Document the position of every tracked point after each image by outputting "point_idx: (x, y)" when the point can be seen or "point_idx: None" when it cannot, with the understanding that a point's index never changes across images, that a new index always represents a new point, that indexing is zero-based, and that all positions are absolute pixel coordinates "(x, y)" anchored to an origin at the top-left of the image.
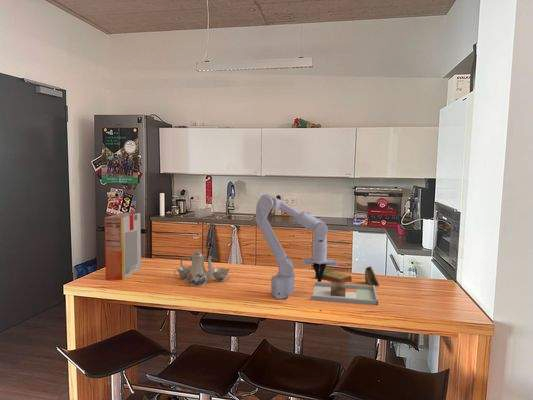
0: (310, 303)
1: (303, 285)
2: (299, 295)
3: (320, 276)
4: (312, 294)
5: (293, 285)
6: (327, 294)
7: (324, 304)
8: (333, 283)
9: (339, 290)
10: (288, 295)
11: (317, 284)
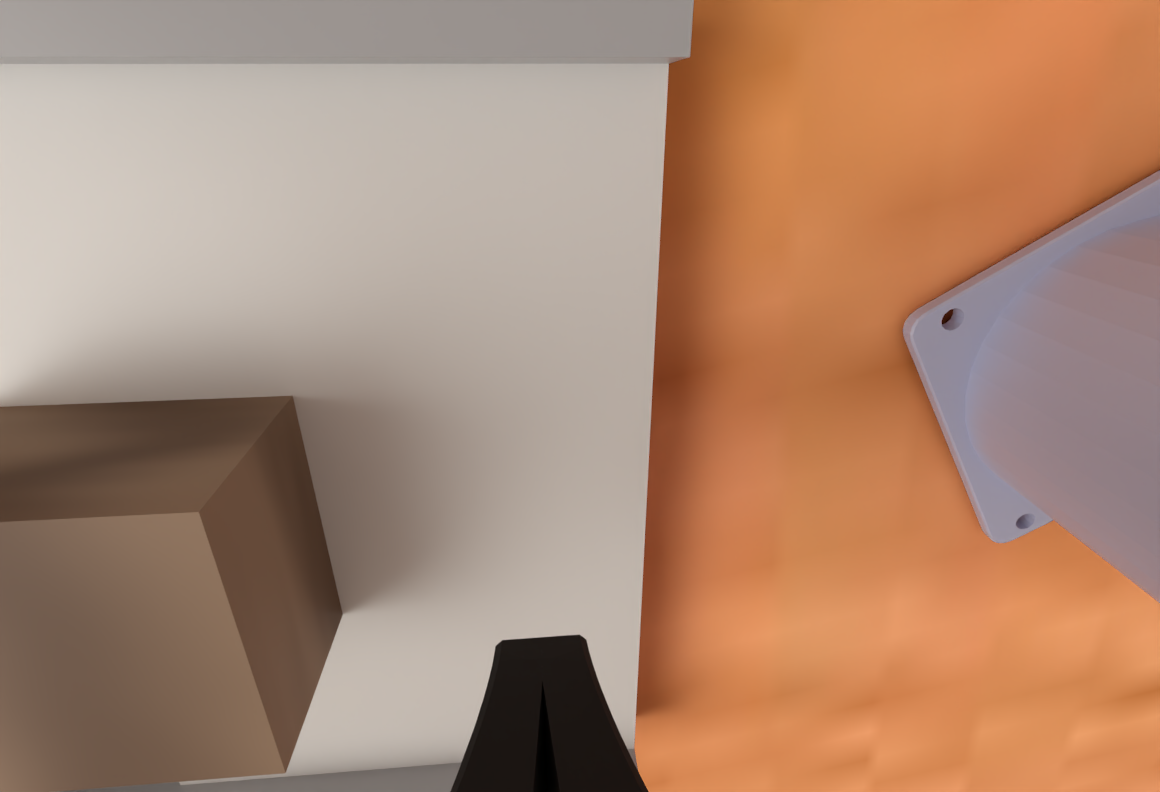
0: None
1: (776, 775)
2: (856, 411)
3: (499, 780)
4: (652, 370)
5: (1148, 421)
6: (368, 444)
7: None
8: (207, 710)
9: (18, 467)
10: (1105, 242)
11: None
